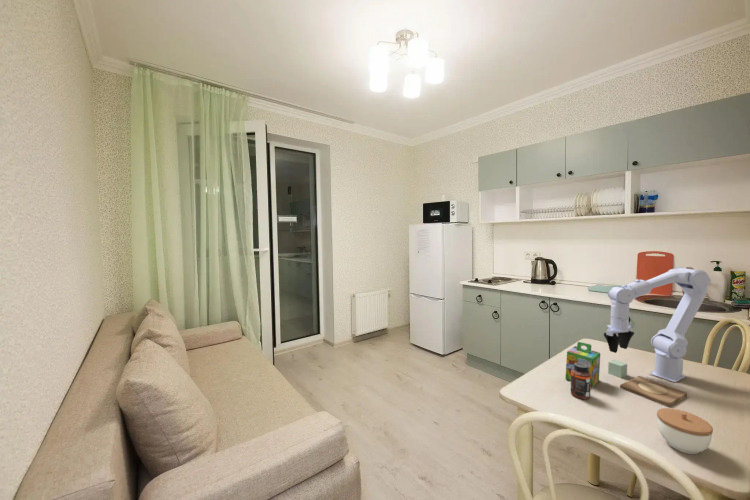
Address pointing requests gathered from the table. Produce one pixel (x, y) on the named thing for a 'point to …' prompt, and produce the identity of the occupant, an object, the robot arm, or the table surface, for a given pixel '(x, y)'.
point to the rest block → (617, 368)
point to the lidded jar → (684, 430)
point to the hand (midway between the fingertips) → (618, 349)
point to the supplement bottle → (580, 381)
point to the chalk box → (583, 361)
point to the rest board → (654, 391)
